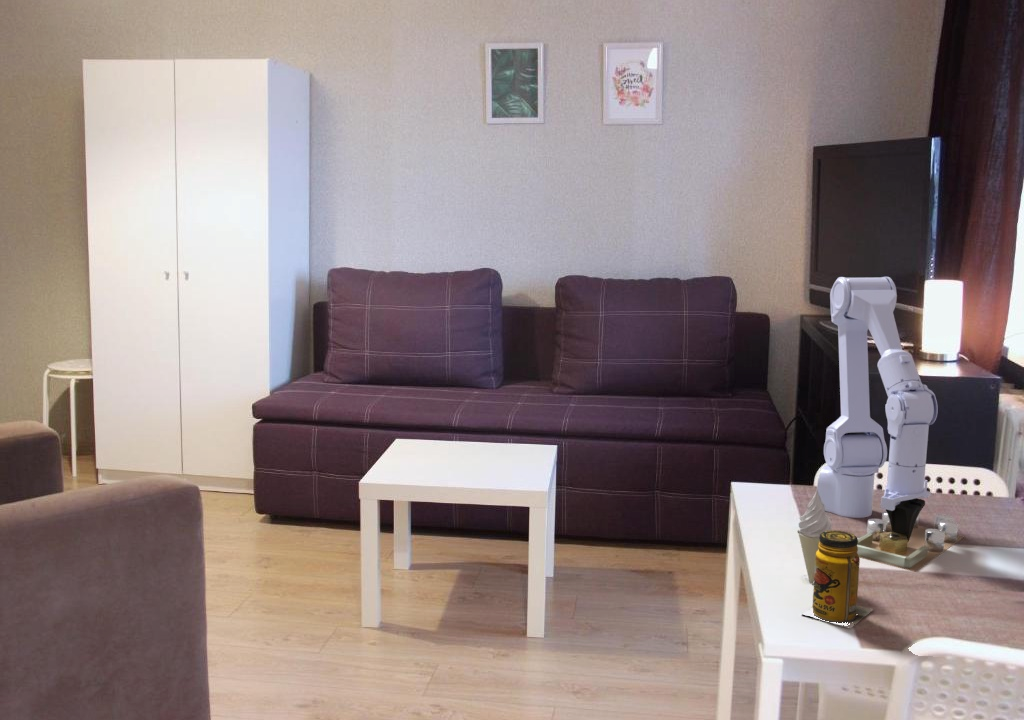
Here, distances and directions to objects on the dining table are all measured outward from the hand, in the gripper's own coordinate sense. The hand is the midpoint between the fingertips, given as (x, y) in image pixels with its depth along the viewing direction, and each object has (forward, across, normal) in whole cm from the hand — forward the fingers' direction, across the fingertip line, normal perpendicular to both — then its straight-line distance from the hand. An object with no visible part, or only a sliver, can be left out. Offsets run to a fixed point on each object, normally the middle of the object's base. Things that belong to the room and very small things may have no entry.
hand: (901, 541), depth 177 cm
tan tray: (+2, +1, 0) cm, 2 cm away
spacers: (+1, +6, 0) cm, 6 cm away
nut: (+1, -3, 0) cm, 3 cm away
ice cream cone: (+2, -22, +5) cm, 23 cm away
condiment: (+2, -30, -3) cm, 30 cm away
